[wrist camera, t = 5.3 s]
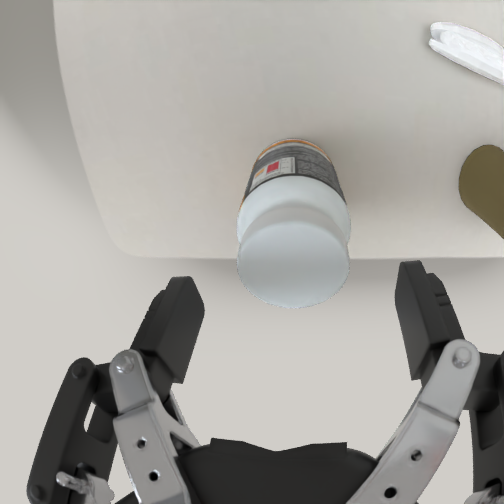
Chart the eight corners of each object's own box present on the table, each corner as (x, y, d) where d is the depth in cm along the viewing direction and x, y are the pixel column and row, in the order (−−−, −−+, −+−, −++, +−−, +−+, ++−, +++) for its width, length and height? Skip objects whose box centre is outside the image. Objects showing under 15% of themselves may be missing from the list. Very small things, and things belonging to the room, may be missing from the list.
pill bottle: (237, 161, 19) (194, 247, 11) (310, 121, 17) (326, 182, 9) (279, 222, 22) (267, 329, 14) (348, 191, 19) (379, 291, 12)
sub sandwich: (505, 90, 12) (527, 98, 9) (421, 53, 12) (440, 54, 10) (508, 55, 10) (531, 59, 7) (422, 13, 10) (441, 9, 8)
